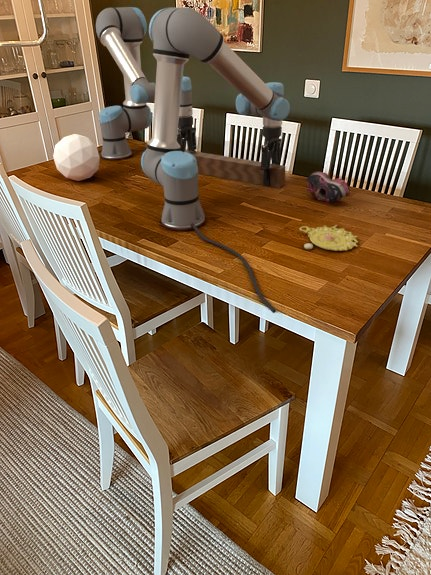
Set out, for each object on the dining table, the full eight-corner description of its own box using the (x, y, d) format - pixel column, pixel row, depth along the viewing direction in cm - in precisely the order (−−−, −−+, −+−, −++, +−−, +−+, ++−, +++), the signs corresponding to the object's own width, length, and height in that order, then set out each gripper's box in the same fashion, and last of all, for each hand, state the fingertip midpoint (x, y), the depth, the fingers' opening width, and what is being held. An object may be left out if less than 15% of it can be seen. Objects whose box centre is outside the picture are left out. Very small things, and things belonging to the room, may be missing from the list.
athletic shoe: (315, 170, 179) (291, 178, 175) (351, 165, 160) (325, 173, 156) (321, 198, 182) (297, 206, 178) (356, 196, 163) (330, 204, 159)
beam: (284, 184, 186) (285, 165, 182) (278, 188, 182) (279, 169, 178) (181, 165, 211) (180, 149, 207) (174, 168, 208) (173, 151, 203)
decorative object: (343, 255, 128) (285, 234, 139) (342, 262, 130) (284, 241, 140) (372, 230, 142) (317, 213, 152) (371, 237, 143) (316, 219, 153)
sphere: (86, 196, 198) (71, 170, 180) (54, 175, 203) (36, 147, 184) (114, 167, 203) (101, 138, 185) (82, 146, 208) (67, 116, 189)
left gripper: (178, 120, 186) (182, 174, 198) (203, 112, 199) (205, 163, 211) (164, 119, 190) (168, 172, 202) (189, 111, 202) (192, 161, 215)
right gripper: (274, 120, 182) (272, 175, 194) (252, 129, 169) (251, 188, 182) (291, 122, 178) (287, 178, 191) (269, 132, 166) (267, 191, 178)
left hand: (187, 167), depth 207 cm, fingers closed on beam, 5 cm apart
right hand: (269, 182), depth 186 cm, fingers closed on beam, 5 cm apart
